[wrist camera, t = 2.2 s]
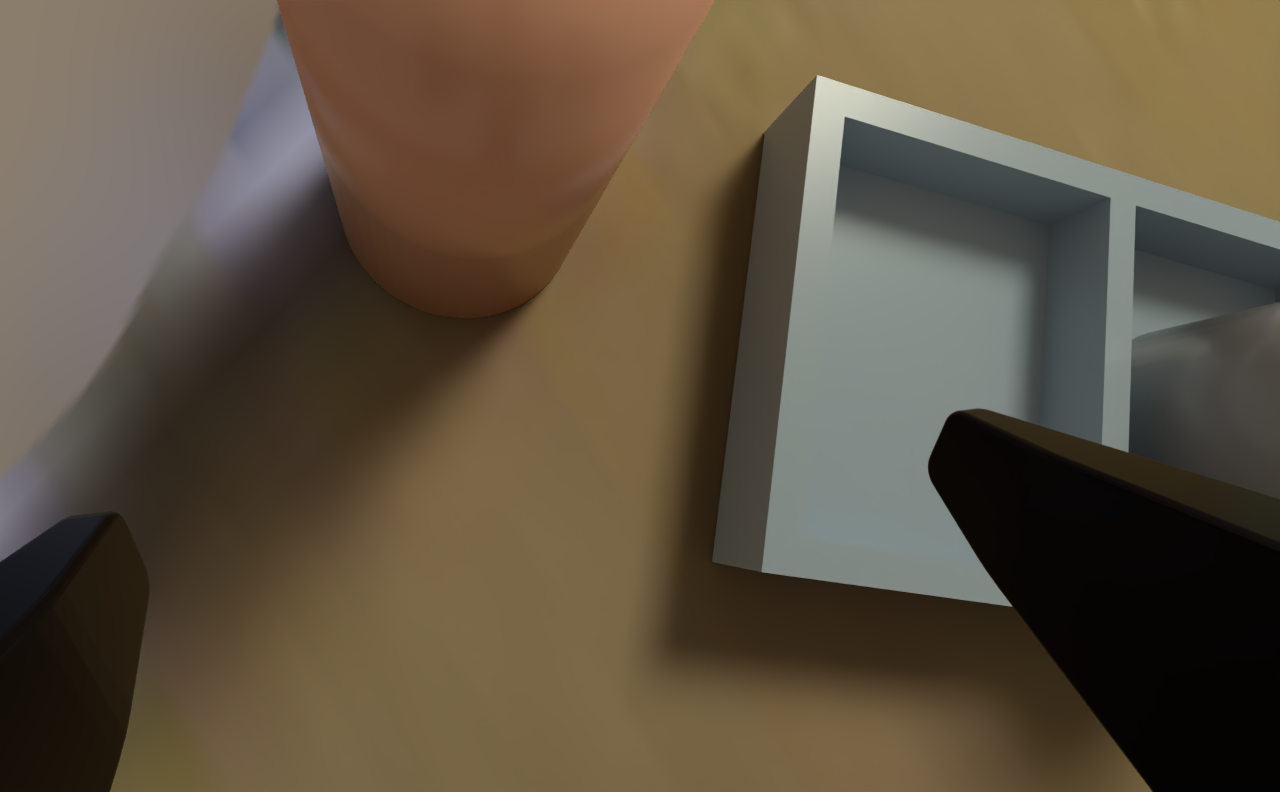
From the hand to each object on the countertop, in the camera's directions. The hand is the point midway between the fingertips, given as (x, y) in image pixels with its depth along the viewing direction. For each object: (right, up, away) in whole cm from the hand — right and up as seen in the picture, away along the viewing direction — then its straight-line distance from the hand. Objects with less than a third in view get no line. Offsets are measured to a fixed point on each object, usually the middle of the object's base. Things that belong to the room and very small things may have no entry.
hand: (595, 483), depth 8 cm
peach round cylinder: (-5, +6, +14) cm, 16 cm away
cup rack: (+14, +1, +18) cm, 23 cm away
